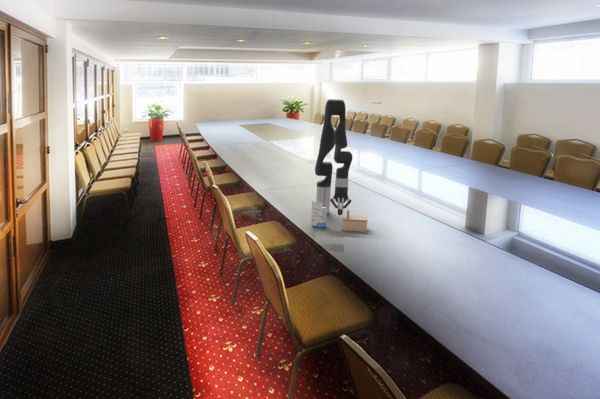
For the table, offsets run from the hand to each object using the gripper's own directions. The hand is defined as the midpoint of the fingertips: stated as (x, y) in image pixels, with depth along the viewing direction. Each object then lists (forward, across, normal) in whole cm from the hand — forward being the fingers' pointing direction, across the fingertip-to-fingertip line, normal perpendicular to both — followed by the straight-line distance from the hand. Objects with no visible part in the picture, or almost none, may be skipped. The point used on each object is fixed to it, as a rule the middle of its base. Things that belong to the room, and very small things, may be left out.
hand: (339, 215), depth 236 cm
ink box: (+8, +12, -3) cm, 15 cm away
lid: (+2, -9, 0) cm, 9 cm away
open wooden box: (+8, -9, 0) cm, 12 cm away
